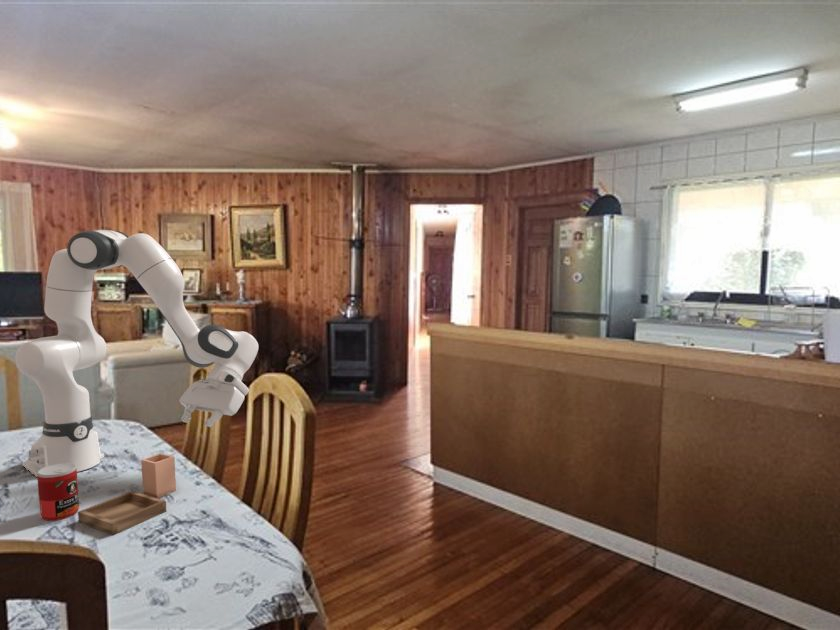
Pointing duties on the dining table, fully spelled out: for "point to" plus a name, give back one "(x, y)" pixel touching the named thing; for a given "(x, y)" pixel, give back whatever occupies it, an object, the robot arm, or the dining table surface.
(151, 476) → the open rectangular container
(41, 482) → the canned food
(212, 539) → the dining table surface
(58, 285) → the robot arm
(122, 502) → the tray
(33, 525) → the dining table surface
